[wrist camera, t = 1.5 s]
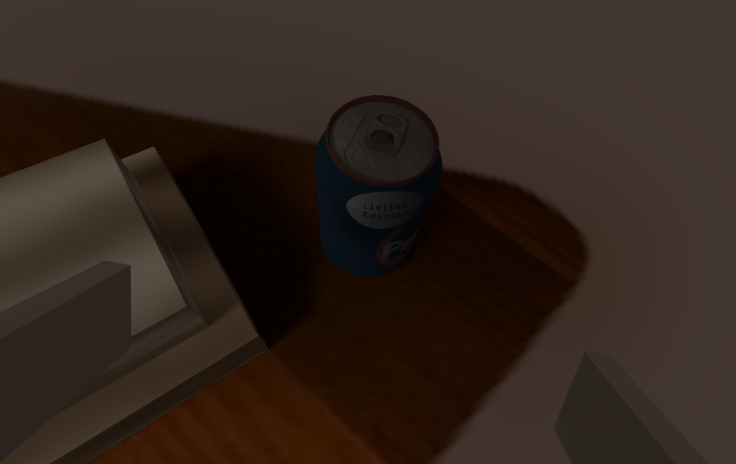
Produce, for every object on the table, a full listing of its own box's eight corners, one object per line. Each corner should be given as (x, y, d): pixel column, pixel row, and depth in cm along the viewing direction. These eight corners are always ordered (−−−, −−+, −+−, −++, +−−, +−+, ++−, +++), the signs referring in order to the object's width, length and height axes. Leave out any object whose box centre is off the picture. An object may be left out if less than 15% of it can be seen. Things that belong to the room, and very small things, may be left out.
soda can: (395, 295, 28) (433, 213, 17) (306, 265, 28) (290, 167, 18) (418, 218, 31) (463, 108, 21) (338, 192, 32) (341, 72, 21)
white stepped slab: (-60, 280, 26) (-208, 224, 19) (174, 179, 31) (127, 104, 24) (-4, 520, 20) (-182, 567, 13) (268, 349, 26) (244, 317, 18)
